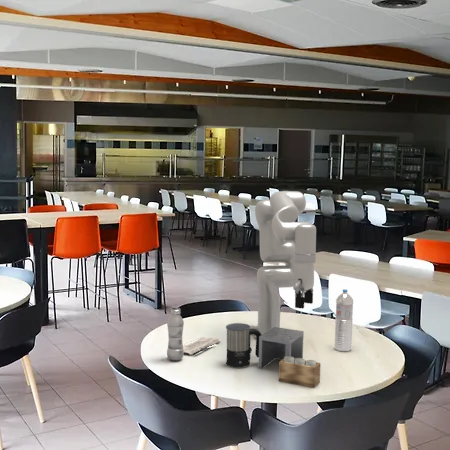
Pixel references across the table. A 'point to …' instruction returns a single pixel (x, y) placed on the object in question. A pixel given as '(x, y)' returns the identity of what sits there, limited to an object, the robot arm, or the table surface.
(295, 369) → the glass carrier
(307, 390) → the table surface
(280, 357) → the gray open-front box
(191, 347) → the newspaper
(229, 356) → the milk frother
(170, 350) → the plastic bottle
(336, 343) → the water bottle
